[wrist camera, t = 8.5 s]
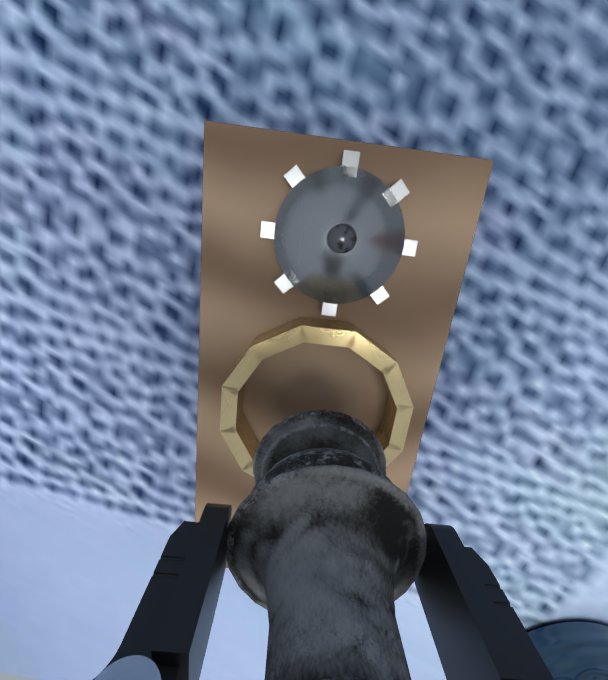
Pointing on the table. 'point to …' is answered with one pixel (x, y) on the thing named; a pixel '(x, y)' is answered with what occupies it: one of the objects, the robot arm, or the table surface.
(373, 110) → the table surface
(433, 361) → the gear board
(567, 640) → the canister
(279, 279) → the drive gears
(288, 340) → the brass collar
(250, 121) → the table surface
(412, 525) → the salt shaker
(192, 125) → the table surface
